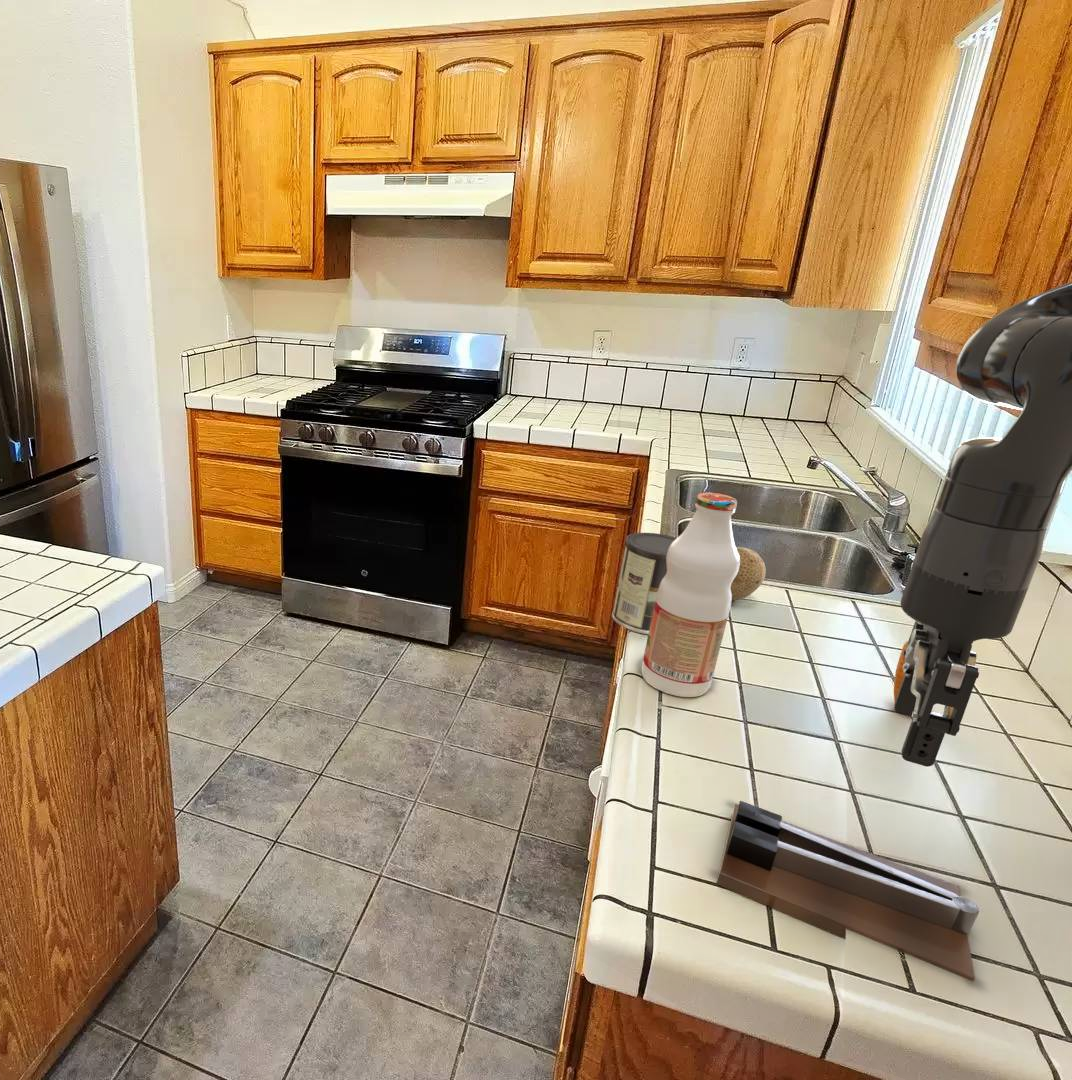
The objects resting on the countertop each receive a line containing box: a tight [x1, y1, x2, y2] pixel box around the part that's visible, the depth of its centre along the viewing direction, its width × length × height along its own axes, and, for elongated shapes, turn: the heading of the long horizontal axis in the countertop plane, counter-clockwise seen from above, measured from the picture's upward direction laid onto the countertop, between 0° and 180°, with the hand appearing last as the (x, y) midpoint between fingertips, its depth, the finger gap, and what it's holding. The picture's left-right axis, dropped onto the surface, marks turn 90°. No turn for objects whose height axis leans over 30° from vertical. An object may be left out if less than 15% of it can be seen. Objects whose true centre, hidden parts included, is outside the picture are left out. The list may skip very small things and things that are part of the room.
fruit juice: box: [641, 491, 740, 698], centre depth 104 cm, size 9×9×28 cm
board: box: [715, 803, 976, 982], centre depth 73 cm, size 20×12×2 cm, turn 58°
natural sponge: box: [730, 546, 767, 601], centre depth 135 cm, size 9×9×10 cm
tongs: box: [727, 800, 980, 934], centre depth 73 cm, size 20×6×2 cm, turn 57°
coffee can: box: [611, 532, 677, 635], centre depth 124 cm, size 10×10×14 cm
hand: (911, 736), depth 67 cm, fingers open, 8 cm apart
